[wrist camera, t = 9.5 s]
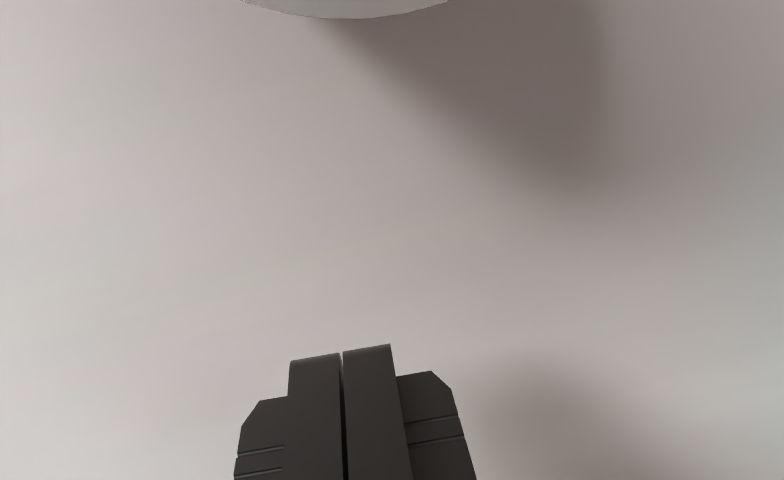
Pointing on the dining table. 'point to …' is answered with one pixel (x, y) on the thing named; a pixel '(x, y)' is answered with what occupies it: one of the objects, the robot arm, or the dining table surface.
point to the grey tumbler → (346, 7)
